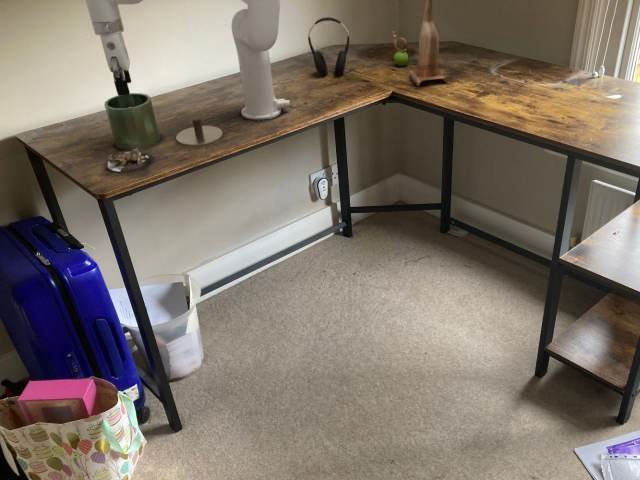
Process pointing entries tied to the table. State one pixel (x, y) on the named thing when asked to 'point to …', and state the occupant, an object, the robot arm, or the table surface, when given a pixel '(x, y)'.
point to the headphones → (319, 58)
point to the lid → (199, 134)
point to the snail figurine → (400, 51)
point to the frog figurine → (124, 159)
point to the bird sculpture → (427, 50)
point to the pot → (132, 121)
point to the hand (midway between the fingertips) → (124, 88)
